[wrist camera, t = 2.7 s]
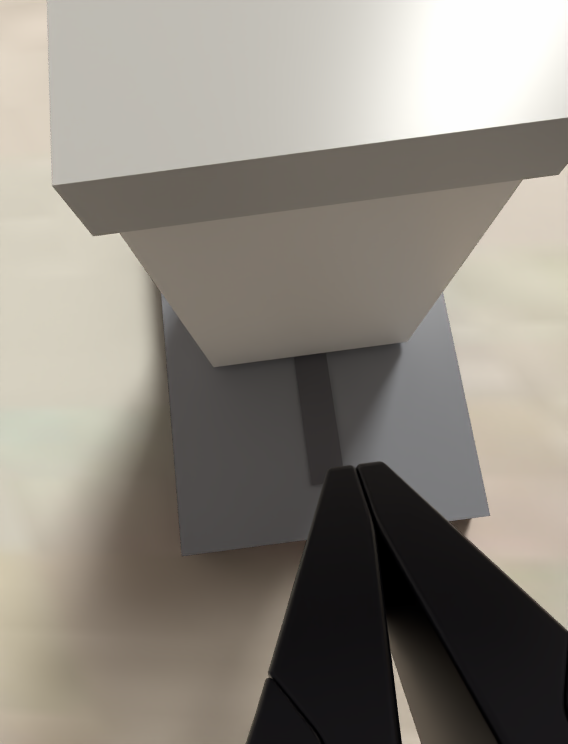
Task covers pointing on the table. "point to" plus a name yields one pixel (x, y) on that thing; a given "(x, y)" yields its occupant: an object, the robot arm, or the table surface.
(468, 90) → the fader knob
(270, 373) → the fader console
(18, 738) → the table surface
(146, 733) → the table surface
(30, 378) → the table surface
